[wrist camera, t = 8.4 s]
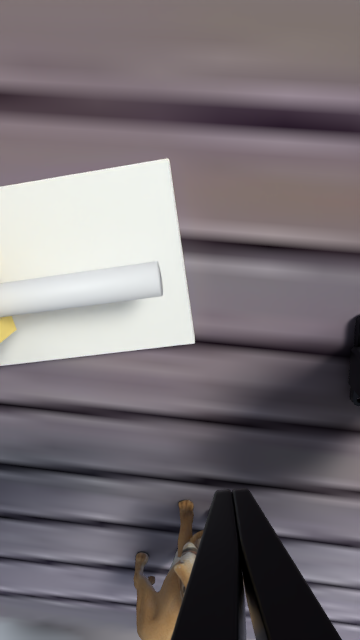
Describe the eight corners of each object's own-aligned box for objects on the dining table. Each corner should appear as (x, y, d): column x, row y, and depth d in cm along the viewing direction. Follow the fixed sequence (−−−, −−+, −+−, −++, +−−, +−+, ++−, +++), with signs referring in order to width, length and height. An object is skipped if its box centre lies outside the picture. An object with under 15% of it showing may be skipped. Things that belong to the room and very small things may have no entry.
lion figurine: (183, 462, 24) (180, 607, 16) (246, 481, 24) (275, 631, 16) (127, 567, 29) (102, 716, 21) (179, 581, 30) (175, 731, 22)
